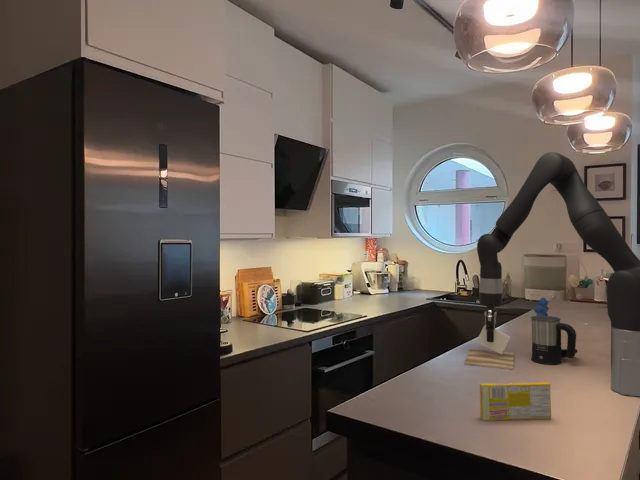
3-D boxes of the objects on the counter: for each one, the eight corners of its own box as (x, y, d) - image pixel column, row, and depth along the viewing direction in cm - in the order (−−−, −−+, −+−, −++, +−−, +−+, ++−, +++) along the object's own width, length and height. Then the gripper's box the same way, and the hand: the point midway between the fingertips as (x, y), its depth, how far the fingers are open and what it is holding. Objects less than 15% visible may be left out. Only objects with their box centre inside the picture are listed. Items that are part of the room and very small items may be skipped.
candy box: (547, 416, 111) (547, 381, 111) (551, 419, 109) (551, 384, 109) (479, 417, 110) (479, 382, 110) (482, 421, 108) (482, 385, 108)
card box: (501, 354, 160) (510, 338, 159) (476, 341, 163) (484, 325, 162) (501, 352, 162) (510, 336, 161) (476, 340, 166) (485, 323, 164)
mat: (513, 369, 148) (513, 367, 148) (464, 364, 154) (464, 362, 154) (513, 354, 167) (514, 352, 167) (469, 350, 173) (469, 349, 173)
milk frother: (529, 362, 156) (529, 318, 156) (533, 352, 170) (533, 311, 170) (578, 368, 150) (578, 322, 149) (577, 357, 164) (577, 314, 163)
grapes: (536, 319, 235) (537, 295, 235) (551, 321, 230) (551, 296, 230) (529, 322, 226) (529, 298, 226) (544, 324, 222) (544, 299, 221)
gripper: (501, 294, 154) (501, 346, 155) (502, 289, 167) (502, 337, 167) (477, 293, 157) (477, 344, 158) (480, 288, 170) (480, 335, 170)
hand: (490, 340), depth 163 cm, fingers closed on card box, 2 cm apart
